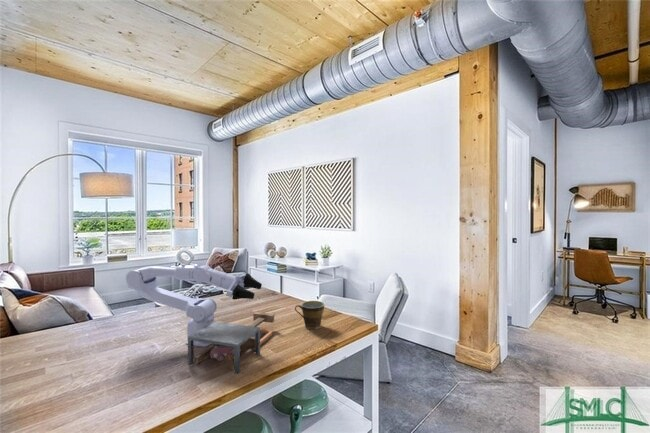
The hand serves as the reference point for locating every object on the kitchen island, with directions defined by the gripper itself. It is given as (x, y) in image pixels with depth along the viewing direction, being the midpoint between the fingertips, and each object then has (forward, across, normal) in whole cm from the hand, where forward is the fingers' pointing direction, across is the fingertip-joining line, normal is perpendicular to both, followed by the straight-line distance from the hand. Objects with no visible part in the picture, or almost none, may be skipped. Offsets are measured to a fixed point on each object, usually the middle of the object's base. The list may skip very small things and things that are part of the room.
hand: (257, 291), depth 116 cm
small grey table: (-2, -17, +18) cm, 25 cm away
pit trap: (+2, -1, +21) cm, 21 cm away
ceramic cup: (+22, +14, +19) cm, 33 cm away
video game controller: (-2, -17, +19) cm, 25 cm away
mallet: (0, -6, +20) cm, 21 cm away
